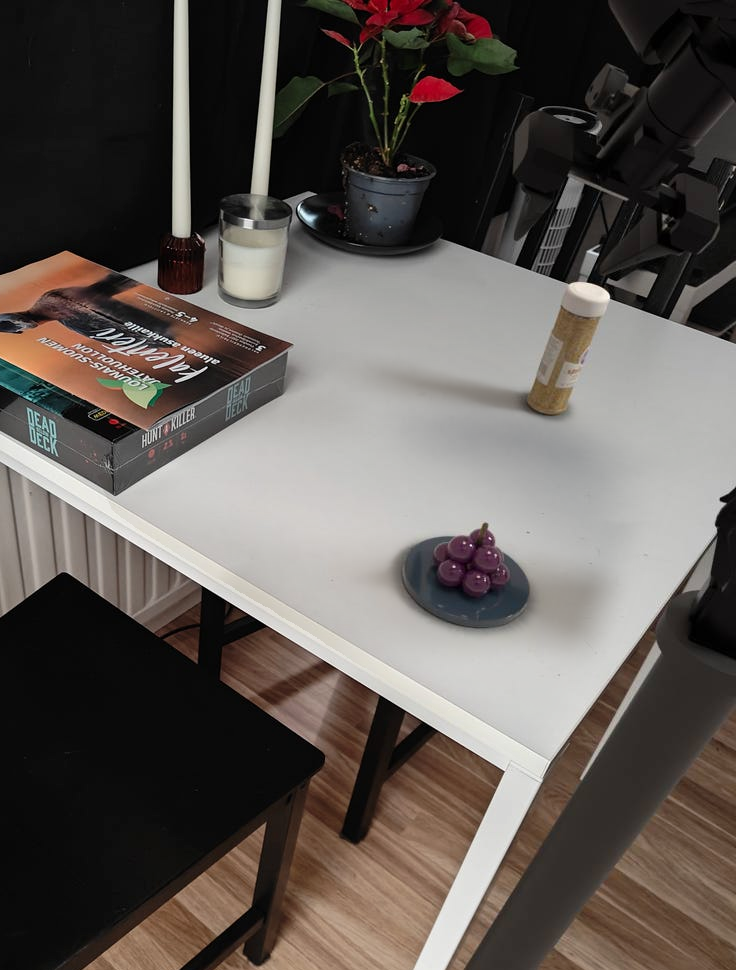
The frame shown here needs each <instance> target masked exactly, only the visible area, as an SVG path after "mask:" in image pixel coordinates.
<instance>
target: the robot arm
mask: <svg viewBox="0 0 736 970" xmlns="http://www.w3.org/2000/svg"><path fill="white" fill-rule="evenodd" d="M607 2H608V7H609V9H610V10H611V12H612V14H613V16H614V17H615V19H616V20H617V22H618V24H619V25H620V27H621V29H622V30H623V32H624V34H625V36H626V37H627V39H628V41H629V42H630V44H631V46H632V48H633V49H634V51H635V53H636V54H637V56H638V58H639V59H640V61H641V62H642V63H643V64H646V65H649V66H653V65H657V64H661V63H662V64H665V66H664V68H663V69H662V71H660V73H659V74H658V76H657V77H656V78H655V79H654V81H652V83H651V85H650V86H649V87H646V86H643V85H642V86H641V87H640V88H639V87H638V86H635V85H633V84H631V83H628V80H629V75H628V74H626V73H625V71H624V70H623V69H621V68H619V67H617V66H614V65H612V64H610V63H608V62H607V63H606V64H605V65H604V66H603V68H602V69H601V70H600V71H599V73H598V74H597V75H596V76H595V78H594V79H593V81H592V83H591V85H590V87H589V88H588V90H587V91H586V94H585V96H584V97H585V98H584V102H585V104H586V105H587V108H588V109H589V110H591V111H592V112H595V113H596V115H595V120H596V121H597V122H599V123H600V124H601V126H602V127H601V128H600V129H599V131H598V132H597V133H596V145H597V146H600V147H601V150H600V151H599V152H598V153H597V154H596V155H593V154H591V153H589V152H586V151H585V150H582V149H580V148H578V147H575V125H574V124H572V123H570V122H567V121H565V120H563V119H560V118H558V117H556V116H555V115H554V116H553V115H551V114H549V113H547V112H544V111H542V110H536V111H533V112H531V113H529V114H528V115H526V116H525V118H524V119H522V122H521V123H520V124H519V126H518V128H517V129H516V131H515V133H514V146H513V147H514V148H513V161H512V162H513V163H512V176H513V177H514V178H515V180H516V181H517V182H518V183H520V189H521V191H522V192H523V194H525V195H524V199H523V201H522V205H521V209H520V211H519V215H518V218H517V221H516V224H515V228H514V231H513V241H515V242H519V241H520V240H521V239H522V238H523V237H525V236H526V235H527V233H528V232H529V231H530V230H531V228H533V226H534V225H535V224H536V223H537V221H538V220H539V219H540V218H541V217H542V215H543V214H545V211H547V209H548V208H550V205H552V204H553V201H554V200H555V198H554V197H555V191H557V190H559V189H560V188H561V187H562V185H563V184H564V183H565V181H566V180H567V178H570V179H573V180H575V181H578V182H580V183H582V184H584V185H587V186H590V187H592V188H594V189H597V190H599V191H602V192H604V193H607V194H608V195H611V196H613V197H615V198H618V199H621V200H623V201H625V202H628V201H632V202H634V203H636V204H638V205H641V206H643V207H645V208H647V209H646V210H645V212H644V215H643V216H642V218H641V219H640V220H639V222H637V224H636V225H635V226H634V227H633V228H632V229H630V231H629V232H628V233H627V234H626V235H625V236H624V237H623V238H622V239H621V241H620V242H618V244H616V246H615V247H614V248H613V249H612V250H610V252H609V253H608V255H607V256H606V257H605V258H604V259H603V261H602V263H601V264H600V265H599V275H601V276H606V275H610V274H612V273H614V272H616V271H619V270H622V269H625V268H628V267H631V266H633V265H636V264H639V263H642V262H646V261H650V260H653V259H657V258H660V257H664V256H668V255H675V256H681V255H683V253H684V252H688V253H691V254H693V255H695V256H696V255H699V254H701V253H702V252H703V251H704V250H705V249H706V248H707V247H709V245H710V244H712V242H714V240H716V237H717V235H718V234H719V231H720V211H719V198H718V196H719V195H718V187H717V186H716V185H713V184H711V183H709V182H706V181H704V180H701V179H699V178H697V177H695V176H692V175H690V174H687V173H685V172H683V173H676V175H674V176H673V177H672V179H671V180H670V181H669V182H668V183H667V184H665V183H664V182H665V180H667V179H668V178H669V177H670V176H671V174H672V173H673V172H674V171H675V170H676V169H677V167H678V166H680V167H682V168H684V169H687V168H688V167H689V166H690V165H691V164H692V163H693V162H694V160H695V159H696V146H697V145H698V144H699V143H700V141H702V139H703V138H704V137H705V136H706V134H707V133H708V132H709V131H710V130H711V129H712V127H714V125H715V124H716V123H717V122H718V121H719V120H720V119H721V117H722V116H723V115H724V114H725V113H726V112H727V111H728V109H730V108H731V106H732V105H734V103H736V0H607ZM718 500H719V502H720V503H724V505H723V506H722V507H721V508H720V510H719V511H718V513H717V515H716V517H715V520H714V528H716V542H715V546H714V552H713V557H712V563H711V567H710V573H709V575H708V577H707V578H706V580H705V582H704V583H703V585H702V586H701V588H700V589H699V590H700V591H699V593H698V594H697V596H696V598H695V599H694V601H693V602H692V606H691V609H690V613H689V617H688V619H689V621H690V622H691V625H690V629H689V633H688V639H689V640H690V641H692V642H694V643H696V644H699V645H701V646H704V647H706V648H709V649H711V650H714V651H716V652H719V653H721V654H724V655H726V656H729V657H731V658H734V659H736V486H734V488H733V489H732V490H730V491H729V492H728V493H726V494H724V495H722V496H720V497H719V499H718Z"/></svg>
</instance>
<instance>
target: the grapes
mask: <svg viewBox="0 0 736 970" xmlns="http://www.w3.org/2000/svg"><path fill="white" fill-rule="evenodd" d="M401 569H402V570H401V571H402V572H401V576H402V581H403V584H404V587H405V589H406V591H407V593H409V595H410V596H411V597H412V599H413V600H414V601H415V602H416V603H417V604H418V605H419V606H420V607H422V608H423V609H424V610H426V611H427V612H429V613H430V614H432V615H433V616H435V617H438V618H440V619H442V620H444V621H446V622H449V623H452V624H455V625H459V626H463V627H468V628H470V627H471V628H493V627H499V626H502V625H506V624H509V623H510V622H512V621H514V620H515V619H516V618H518V617H519V616H520V615H521V614H522V613H523V611H524V609H525V608H526V606H527V603H528V602H529V599H530V592H531V589H530V584H529V583H530V582H529V579H528V578H527V575H526V574H525V572H524V570H523V569H522V568H521V567H520V565H519V564H518V563H517V562H516V561H515V560H514V559H513V558H512V557H511V556H509V555H508V554H507V553H505V552H504V551H502V550H501V549H500V547H498V546H496V537H495V535H494V533H493V532H491V530H489V523H488V522H486V521H485V522H483V523H482V524H481V528H480V527H479V528H476V529H473V530H472V531H471V532H470V533H469V534H468V535H465V534H460V535H455V536H454V535H447V536H446V535H444V536H443V535H441V536H436V537H431V538H427V539H425V540H422V541H420V542H419V543H417V544H416V545H414V546H413V547H412V548H410V550H409V551H408V553H407V554H406V556H405V558H404V562H403V566H402V568H401Z"/></svg>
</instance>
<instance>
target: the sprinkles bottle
mask: <svg viewBox="0 0 736 970" xmlns="http://www.w3.org/2000/svg"><path fill="white" fill-rule="evenodd" d="M610 299H611V295H610V293H609V292H608V291H607V290H606V289H605V288H603V287H601V286H599V285H597V284H594V283H589V282H586V281H585V282H584V281H574V282H570V283H569V284H568V285H567V286H566V287H565V290H564V292H563V295H562V297H561V301H560V308H559V311H558V314H557V317H556V320H555V322H554V325H553V327H552V330H551V331H550V334H549V337H548V340H547V343H546V345H545V349H544V351H543V354H542V357H541V359H540V363H539V365H538V368H537V371H536V375H535V379H534V381H533V385H532V387H531V390H530V393H528V394H527V398H526V402H527V404H528V405H529V406H530V408H532V409H533V410H534V411H536V412H538V413H541V414H545V415H552V416H554V415H561V414H562V413H564V412H566V411H567V408H568V402H569V399H570V397H571V395H572V392H573V389H574V387H575V385H576V384H577V381H578V378H579V376H580V373H581V370H582V368H583V365H584V362H585V360H586V358H587V355H588V352H589V351H590V346H591V343H592V342H593V341H592V340H593V338H594V336H595V333H596V330H597V329H598V325H599V323H600V320H601V318H602V317H603V316H604V314H605V313H606V310H607V308H608V306H609V303H610Z"/></svg>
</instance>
